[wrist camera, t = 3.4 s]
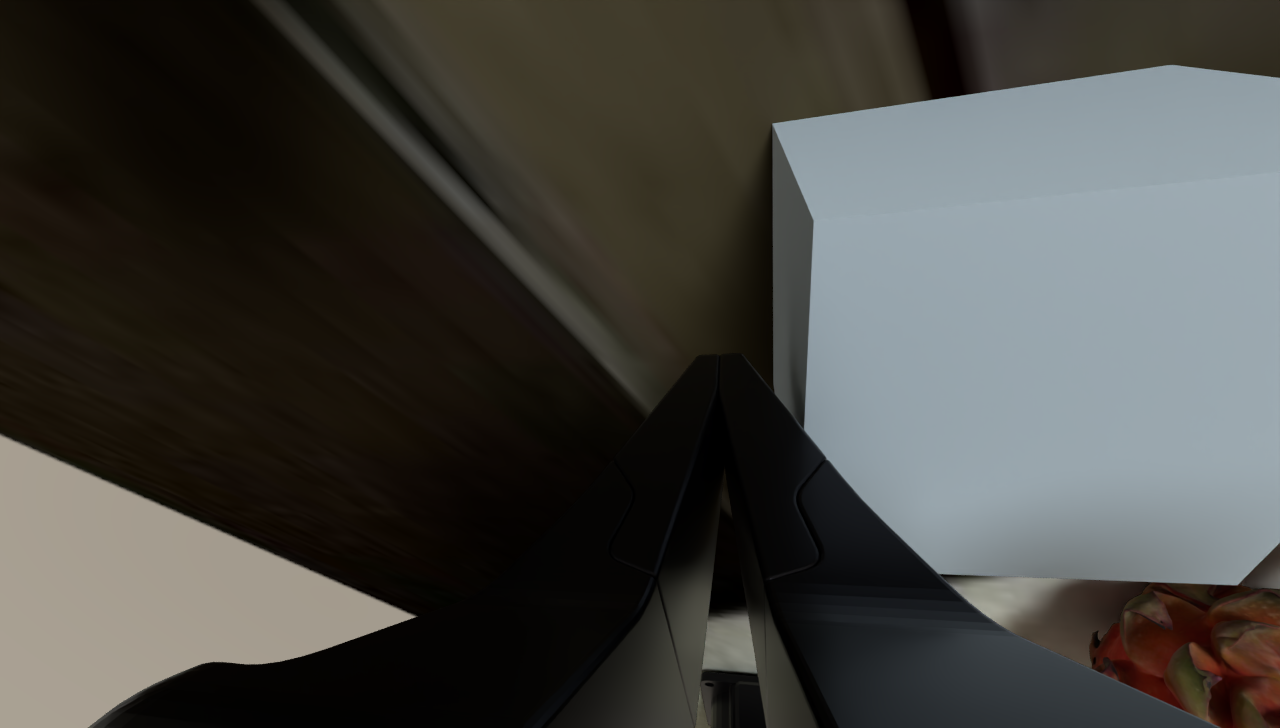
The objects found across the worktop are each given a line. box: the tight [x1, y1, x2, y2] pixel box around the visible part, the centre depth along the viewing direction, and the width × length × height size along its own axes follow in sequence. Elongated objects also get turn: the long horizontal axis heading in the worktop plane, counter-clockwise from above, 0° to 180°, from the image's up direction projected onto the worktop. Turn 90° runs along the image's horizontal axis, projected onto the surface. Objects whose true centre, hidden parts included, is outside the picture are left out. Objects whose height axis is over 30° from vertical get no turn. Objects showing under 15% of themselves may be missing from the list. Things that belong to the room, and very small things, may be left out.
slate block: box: [772, 65, 1280, 585], centre depth 9 cm, size 7×7×6 cm
